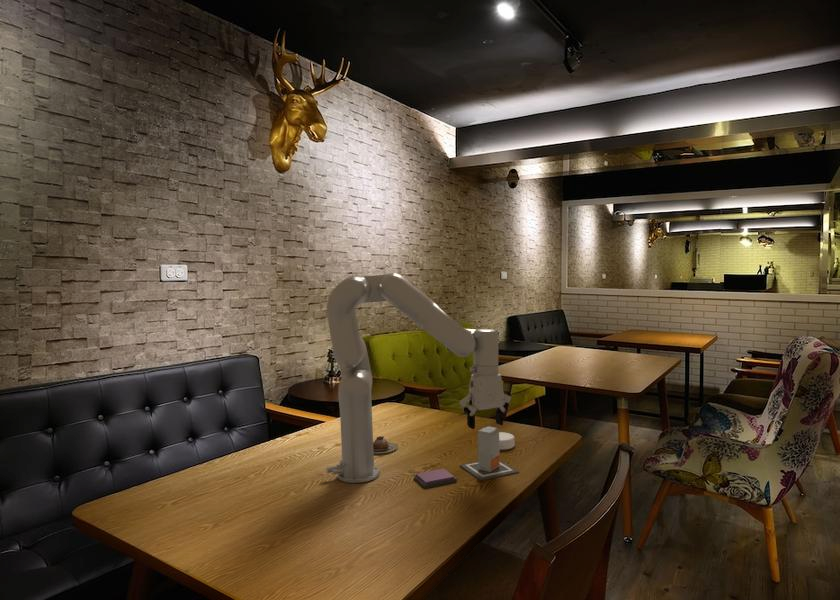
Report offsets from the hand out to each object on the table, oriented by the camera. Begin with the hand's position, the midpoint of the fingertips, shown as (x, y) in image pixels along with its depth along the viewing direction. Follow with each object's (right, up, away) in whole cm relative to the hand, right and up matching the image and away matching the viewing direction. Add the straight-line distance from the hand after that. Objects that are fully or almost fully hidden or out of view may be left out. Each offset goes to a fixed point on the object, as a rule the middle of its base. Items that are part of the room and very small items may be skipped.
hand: (485, 426), depth 161 cm
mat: (+1, -13, +1) cm, 13 cm away
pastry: (-34, -14, +23) cm, 43 cm away
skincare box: (+1, -13, +1) cm, 13 cm away
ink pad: (-16, -14, -6) cm, 22 cm away
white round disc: (+8, -13, +23) cm, 27 cm away
